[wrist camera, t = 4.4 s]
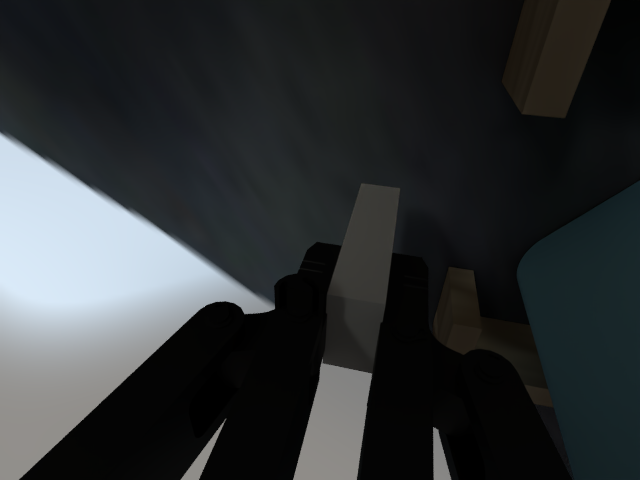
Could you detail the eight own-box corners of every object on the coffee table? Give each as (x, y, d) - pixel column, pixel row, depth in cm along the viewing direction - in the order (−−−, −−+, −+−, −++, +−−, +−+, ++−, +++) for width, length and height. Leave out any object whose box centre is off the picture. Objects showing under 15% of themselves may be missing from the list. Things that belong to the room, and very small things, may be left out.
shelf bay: (432, 324, 23) (433, 383, 19) (540, -57, 13) (579, -64, 9) (645, 362, 21) (685, 434, 18) (966, -43, 11) (1189, -45, 8)
